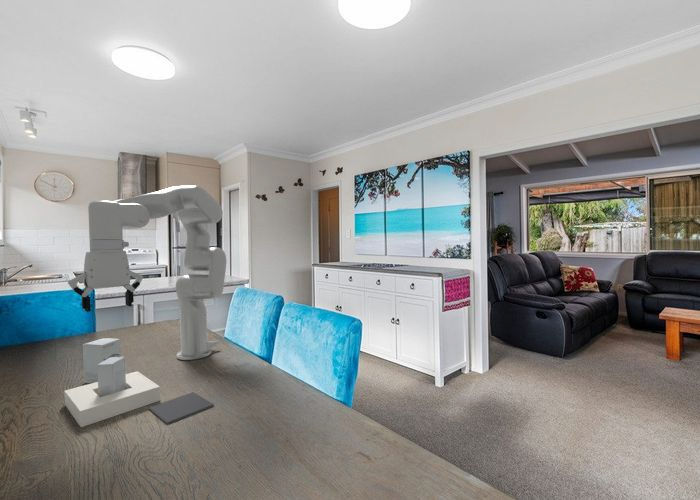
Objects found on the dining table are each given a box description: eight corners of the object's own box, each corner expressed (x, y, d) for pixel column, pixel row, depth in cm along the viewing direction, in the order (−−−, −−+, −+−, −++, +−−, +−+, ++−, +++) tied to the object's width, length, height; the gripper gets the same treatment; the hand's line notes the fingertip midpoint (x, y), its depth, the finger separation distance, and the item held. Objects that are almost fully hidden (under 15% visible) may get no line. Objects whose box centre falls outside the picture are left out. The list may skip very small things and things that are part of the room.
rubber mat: (193, 393, 102) (193, 391, 102) (213, 406, 94) (213, 404, 94) (148, 409, 93) (148, 407, 93) (166, 424, 85) (166, 422, 85)
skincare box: (111, 398, 100) (109, 357, 100) (127, 397, 100) (125, 356, 100) (98, 408, 94) (96, 364, 93) (114, 407, 94) (112, 363, 94)
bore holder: (137, 383, 110) (137, 371, 110) (160, 400, 98) (159, 386, 98) (65, 404, 96) (64, 390, 96) (80, 427, 84) (80, 411, 84)
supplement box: (102, 384, 109) (101, 345, 109) (83, 383, 111) (81, 344, 111) (122, 375, 117) (120, 338, 116) (103, 374, 118) (102, 337, 118)
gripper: (137, 245, 105) (139, 302, 105) (63, 247, 92) (66, 311, 92) (146, 245, 100) (148, 305, 100) (70, 247, 87) (72, 315, 87)
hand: (108, 308), depth 96 cm, fingers open, 9 cm apart
